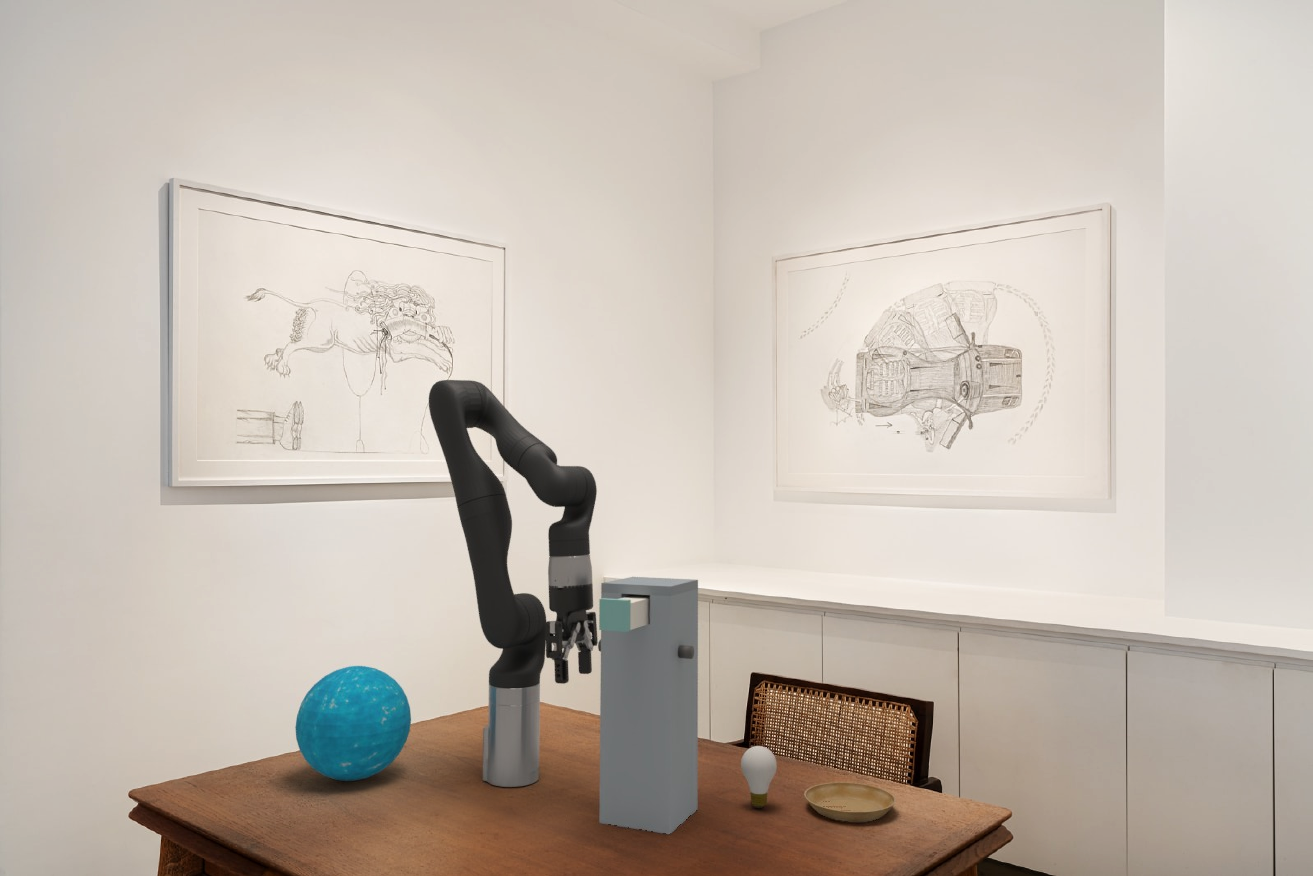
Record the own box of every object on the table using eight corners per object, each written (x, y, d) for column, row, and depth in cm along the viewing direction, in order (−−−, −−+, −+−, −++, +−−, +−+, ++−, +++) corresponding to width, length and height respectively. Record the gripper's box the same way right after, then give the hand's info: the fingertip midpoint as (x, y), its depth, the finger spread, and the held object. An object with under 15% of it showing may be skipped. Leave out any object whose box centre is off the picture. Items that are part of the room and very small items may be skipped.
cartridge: (599, 629, 138) (599, 599, 139) (649, 614, 156) (650, 587, 156) (627, 631, 137) (627, 600, 137) (675, 616, 154) (675, 588, 154)
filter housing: (588, 821, 146) (590, 582, 148) (620, 798, 157) (622, 576, 159) (681, 836, 140) (682, 587, 142) (708, 811, 151) (709, 580, 153)
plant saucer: (840, 834, 142) (839, 817, 142) (786, 804, 155) (786, 788, 156) (915, 820, 148) (915, 803, 148) (858, 792, 162) (857, 777, 162)
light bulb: (780, 804, 155) (779, 743, 155) (772, 816, 149) (772, 753, 150) (745, 800, 157) (745, 740, 157) (737, 811, 151) (737, 749, 152)
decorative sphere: (360, 802, 154) (363, 681, 155) (268, 788, 162) (271, 672, 163) (432, 769, 173) (434, 661, 174) (346, 757, 180) (348, 654, 181)
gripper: (570, 578, 166) (573, 670, 165) (530, 586, 153) (533, 685, 152) (608, 578, 163) (611, 671, 162) (570, 586, 150) (573, 687, 149)
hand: (573, 678), depth 157 cm, fingers open, 8 cm apart
